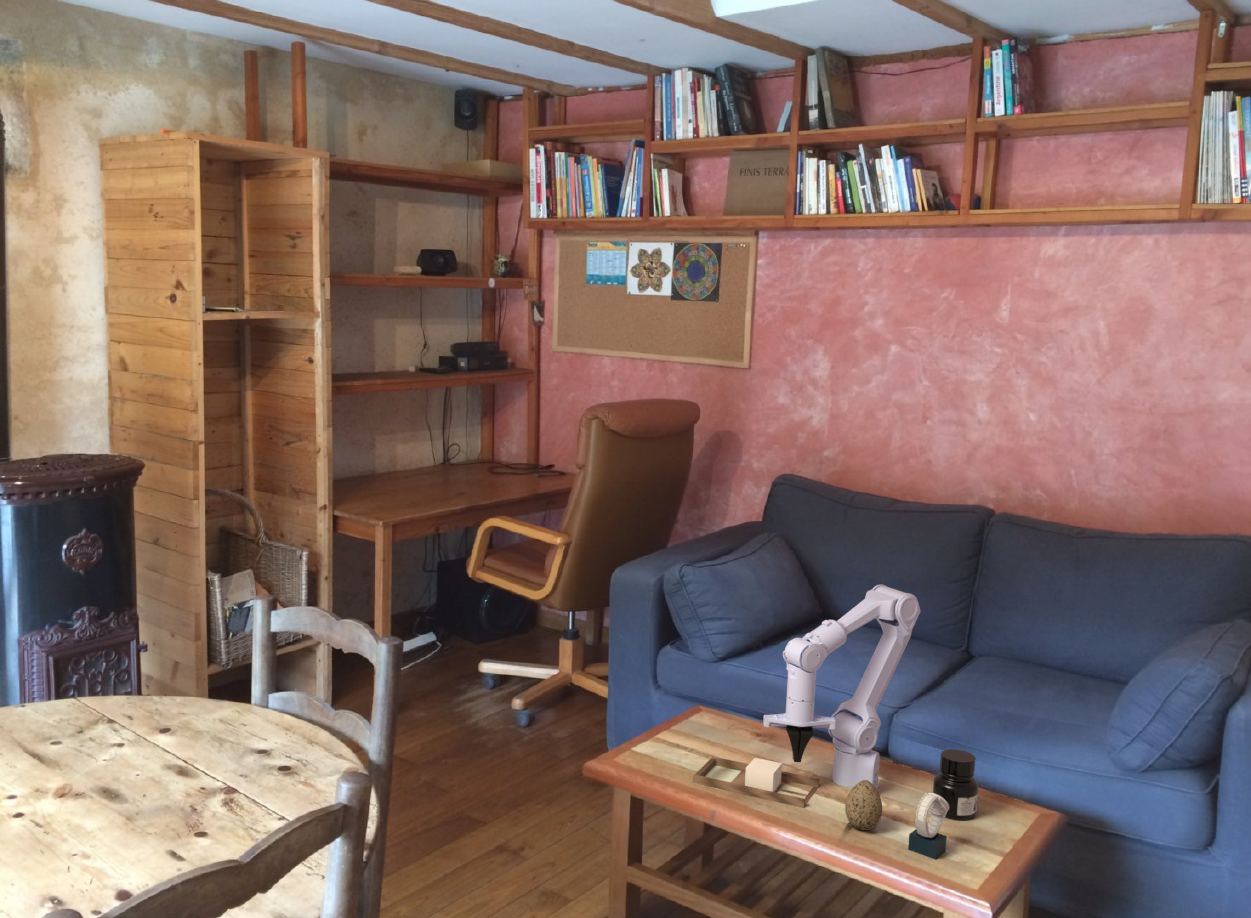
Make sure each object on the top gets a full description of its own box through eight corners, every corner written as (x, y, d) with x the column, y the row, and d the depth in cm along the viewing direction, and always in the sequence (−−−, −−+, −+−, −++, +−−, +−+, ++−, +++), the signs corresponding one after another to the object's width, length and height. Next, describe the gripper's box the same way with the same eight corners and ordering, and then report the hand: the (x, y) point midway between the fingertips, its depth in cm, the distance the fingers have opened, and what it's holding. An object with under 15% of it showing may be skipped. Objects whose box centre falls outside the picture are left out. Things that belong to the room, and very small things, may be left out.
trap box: (818, 792, 233) (819, 778, 233) (803, 814, 222) (803, 800, 222) (712, 769, 243) (712, 756, 242) (692, 789, 232) (692, 776, 232)
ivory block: (780, 783, 233) (781, 763, 233) (772, 794, 228) (773, 773, 227) (753, 777, 236) (754, 757, 235) (744, 788, 230) (745, 767, 230)
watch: (950, 848, 210) (954, 793, 209) (931, 862, 204) (935, 806, 203) (922, 838, 214) (926, 784, 212) (903, 852, 208) (907, 796, 206)
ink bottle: (969, 826, 220) (974, 768, 218) (925, 814, 224) (929, 758, 223) (981, 808, 228) (986, 753, 227) (938, 797, 233) (943, 743, 231)
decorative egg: (888, 829, 217) (891, 781, 216) (866, 840, 212) (869, 791, 211) (858, 816, 222) (861, 769, 221) (836, 826, 217) (839, 778, 216)
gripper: (832, 691, 230) (828, 753, 232) (763, 689, 230) (759, 751, 232) (838, 703, 223) (834, 767, 225) (767, 700, 223) (763, 764, 225)
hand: (796, 760), depth 228 cm, fingers closed
